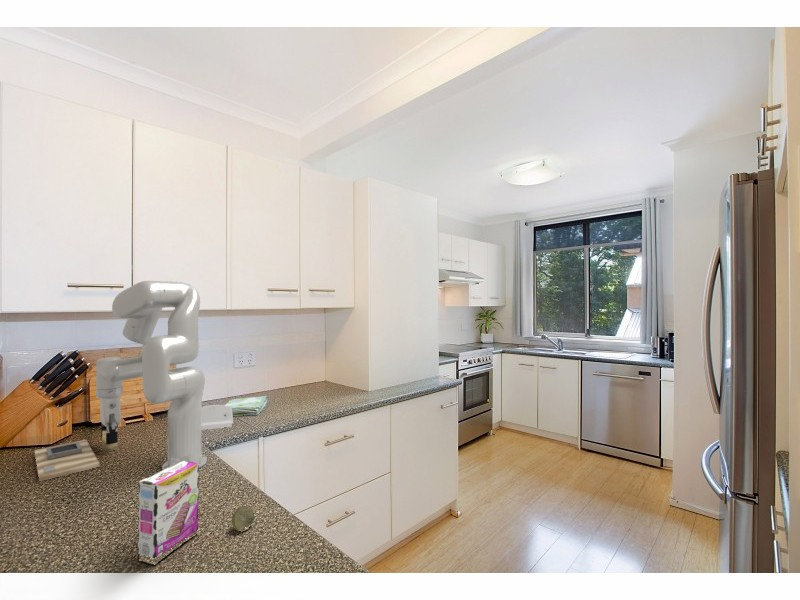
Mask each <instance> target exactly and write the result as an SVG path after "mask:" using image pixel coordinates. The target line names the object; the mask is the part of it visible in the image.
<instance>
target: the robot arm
mask: <svg viewBox="0 0 800 600" xmlns="http://www.w3.org/2000/svg"><path fill="white" fill-rule="evenodd" d="M200 298H201V297H200V293H199V292H198V289H197V288H196V287H194V286H193V285H191V284H189V283H186V282H183V281H182V282H181V281H171V280H169V281H166V280H165V281H162V280H141V281H139V282H137V283H135V284H133V285H131V286H129V287H127V288H125V289H124V290H121V292H119V293H118V294H117V295H116V296H115V298H114V299H113V302H112V304H111V305H112V306H111V311H112V313H113V315H114V316H115V317H117V318H119V319H126V322H125V324H124V326H123V329H122V335H123V336H124V338H125V339H127V340H128V341H131V342H134V343H137V344H140V345H142V348H141V349H140V350H141V351H140V354H139V355H138V356H132V357H126V358H121V357H117V356H116V357H115V356H111V357H103V358H101V357H100V358H99V359H97V361H96V365H95V366H96V373H95V374H96V381H95V382H96V384H95V385H96V388H95V390H96V391H95V394H96V396H95V398H96V399H98V400H99V417H100V419H99V420H100V422H101V430H100V432H101V438H102V431H104V430H106V429H107V433H106V444H107V445H109V444H113V443H117V442H118V441H119V438H118V437H119V433H118V431H119V430H118V431H117V429H118V425H121V423H122V413H121V412H122V411H121V410H122V409H121V398H120V397H122V396H123V392H124V391H123V389H124V388H123V387H124V386H123V385H124V384H123V381H127V380H131V379H136V378H142V391H143V395H144V397H145V399H146V401H147V402H148V403H150V404H151V405H152V404H153V405H160V404H164V403H165V404H166V403H169V402H170V404H169V407H168V410H167V461H165V462H164V463H163V464H162V466H161V471H163V470H165V469H167V468H169V467H171V466H173V465H175V464H177V463H180V462H182V461H187V462H194V463H199V469H200V468H202V467H203V466H205V464H206V463H207V461H208V457H207V456H206V455H205V454H202V452H203V451H202V447H203V446H202V440H203V439H202V438H203V437H202V430H201V407H202V402H203V401H202V400H203V393H204V388H205V380H206V378H205V375H204V373H203V371H202V369H200V368H198V367H196V366H182V367H178V368H177V367H176V368H172V369H170V367H172V366H175V365H182V364H186V363H191V362H193V361H195V360H196V359H197V357H198V355H199V347H200V346H199V344H200V343H199V313H200V307H201V299H200ZM163 308H174V309H173V311H172V312H171V313H170V316H169V317H168V320H167V334H166V335H157V336H153V333H154V331H155V328H156V325H157V323H158V321H159V319H160V316H161V313H162V310H163ZM152 336H153V337H152ZM118 443H119V442H118Z"/></svg>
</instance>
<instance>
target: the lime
mask: <svg viewBox="0 0 800 600" xmlns="http://www.w3.org/2000/svg"><path fill="white" fill-rule="evenodd" d="M254 521H255V514H254V511H253V509H252V508H250V507H249V506H245V505H244V506H241V507H239V508H237V510H235V511H234V512H233V514H232V517H231V524H232V526H233V528H234V530H236V531H237V532H239V531H240V530H242V529H244V528H245V527H247V526H249V525H251V524H252V525H253V524H254ZM252 525H251V526H252Z"/></svg>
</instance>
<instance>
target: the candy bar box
mask: <svg viewBox="0 0 800 600" xmlns="http://www.w3.org/2000/svg"><path fill="white" fill-rule="evenodd" d="M199 469H200V468H199V463H194V462H187V461H182V462H180V463H177V464H175V465H173V466H171V467H169V468H167V469H165V470H161V471H158V472H156V473H154V474H151V475H149V476H148V477H145V478H143V479H141V480H139V481H138V511H137V512H138V513H137V514H138V521H137V523H138V524H137V525H138V527H137V530H138V531H137V535H138V536H137V538H138V539H137V540H138V541H137V555H138V554H141V555H145V556H149V557H153V558H155V557H157V556H159V555H161V554H162V553H164V552H165V551H166V550H168V549H170V548H171V547H173V546H174V545H176V544H177V543H179V542H181V541H182V540H184V539H185V538H187V537H188V536H190V535H191V534H192V533H194V532H196V531H197V530H198V531H199V484H200V483H199V479H200V476H199V474H200V473H199V472H200V471H199Z"/></svg>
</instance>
